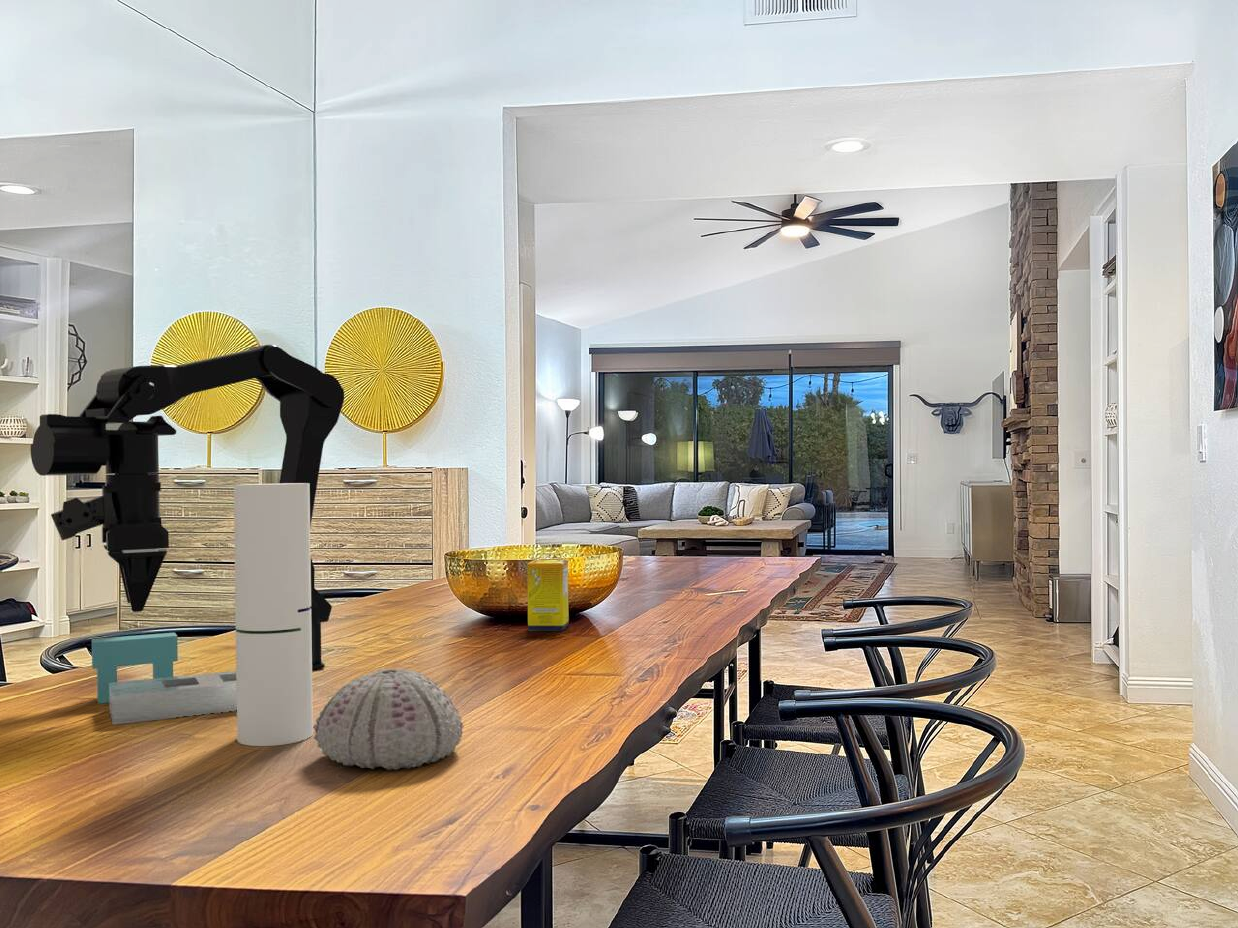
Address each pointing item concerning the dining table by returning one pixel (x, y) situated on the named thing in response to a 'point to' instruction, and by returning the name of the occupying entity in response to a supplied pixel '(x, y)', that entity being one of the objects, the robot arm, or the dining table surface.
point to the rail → (172, 697)
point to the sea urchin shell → (388, 721)
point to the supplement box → (547, 595)
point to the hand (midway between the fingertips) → (134, 606)
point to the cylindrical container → (273, 613)
